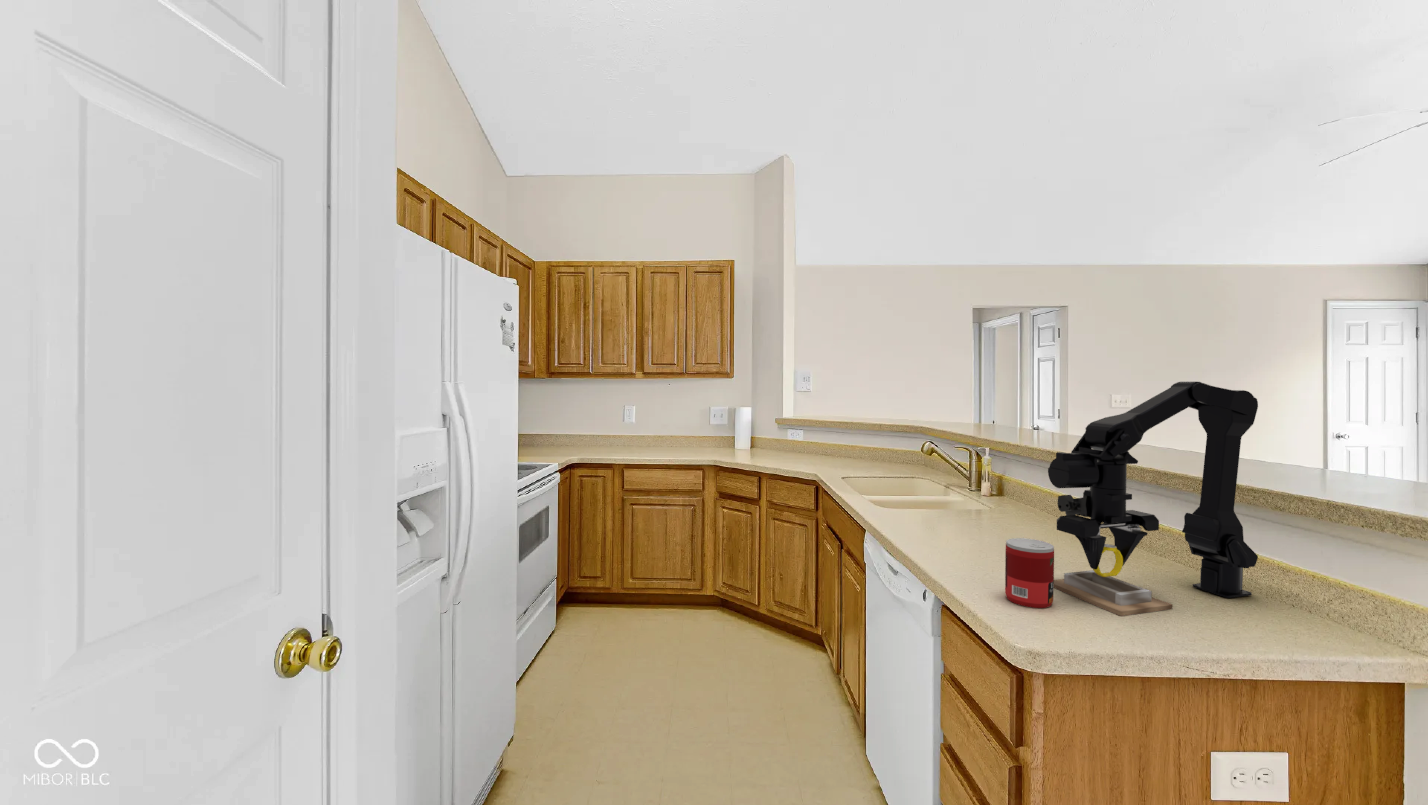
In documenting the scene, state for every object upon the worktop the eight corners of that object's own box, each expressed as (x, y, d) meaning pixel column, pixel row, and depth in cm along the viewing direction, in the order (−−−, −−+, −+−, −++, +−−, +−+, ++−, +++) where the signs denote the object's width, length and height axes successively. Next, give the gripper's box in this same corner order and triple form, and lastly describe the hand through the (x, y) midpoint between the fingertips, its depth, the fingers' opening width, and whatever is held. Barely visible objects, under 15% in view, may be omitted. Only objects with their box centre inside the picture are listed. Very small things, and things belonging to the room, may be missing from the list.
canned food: (1060, 610, 101) (1061, 550, 101) (1012, 607, 103) (1013, 548, 102) (1044, 594, 109) (1045, 538, 108) (999, 591, 110) (1000, 536, 110)
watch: (1112, 573, 110) (1114, 543, 109) (1125, 578, 107) (1128, 547, 107) (1087, 573, 108) (1089, 543, 108) (1099, 578, 106) (1102, 547, 105)
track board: (1093, 579, 117) (1093, 566, 117) (1172, 608, 102) (1172, 593, 101) (1046, 584, 114) (1046, 571, 114) (1120, 616, 99) (1120, 600, 98)
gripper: (1107, 477, 117) (1106, 551, 118) (1034, 482, 113) (1033, 558, 113) (1161, 487, 106) (1160, 567, 107) (1082, 492, 102) (1081, 577, 102)
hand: (1106, 567), depth 108 cm, fingers closed on watch, 6 cm apart
